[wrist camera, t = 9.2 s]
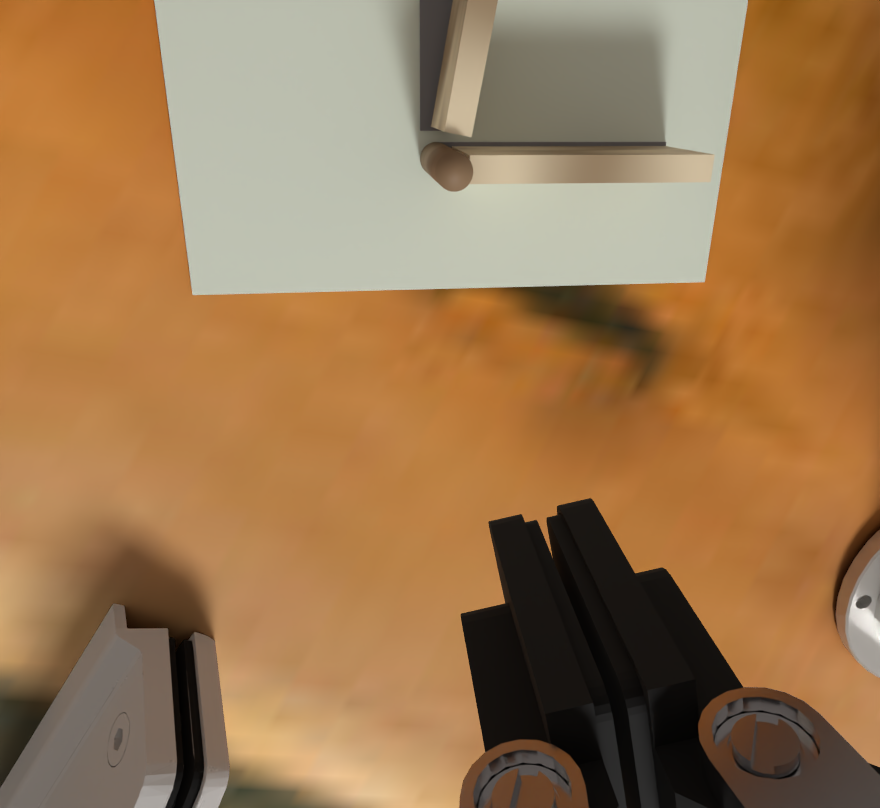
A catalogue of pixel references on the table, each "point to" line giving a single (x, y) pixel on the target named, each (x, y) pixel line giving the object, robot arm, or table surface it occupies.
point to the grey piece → (129, 727)
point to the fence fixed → (562, 164)
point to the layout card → (409, 130)
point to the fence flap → (463, 65)
